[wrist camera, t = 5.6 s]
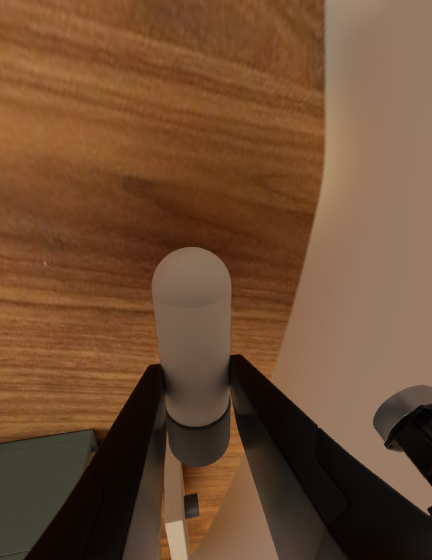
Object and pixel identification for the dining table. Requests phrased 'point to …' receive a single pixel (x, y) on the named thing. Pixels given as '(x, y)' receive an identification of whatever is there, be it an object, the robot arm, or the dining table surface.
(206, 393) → the marker
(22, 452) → the cabinet
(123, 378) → the dining table surface
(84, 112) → the dining table surface
